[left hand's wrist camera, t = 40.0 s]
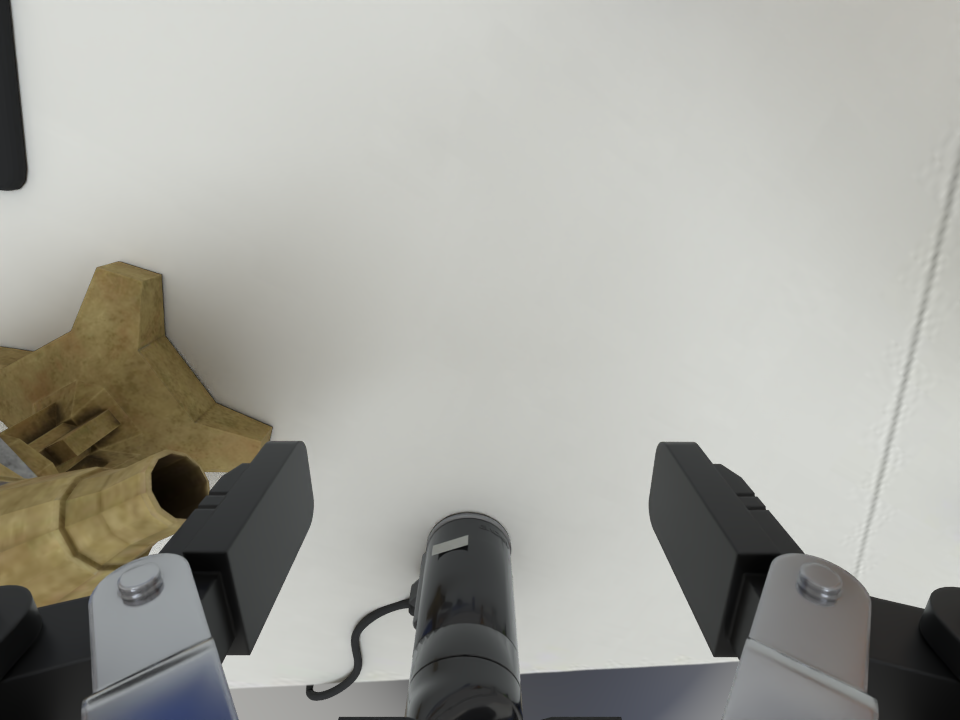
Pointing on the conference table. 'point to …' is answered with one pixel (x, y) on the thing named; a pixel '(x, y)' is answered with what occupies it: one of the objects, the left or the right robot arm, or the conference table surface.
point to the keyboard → (9, 110)
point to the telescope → (105, 441)
